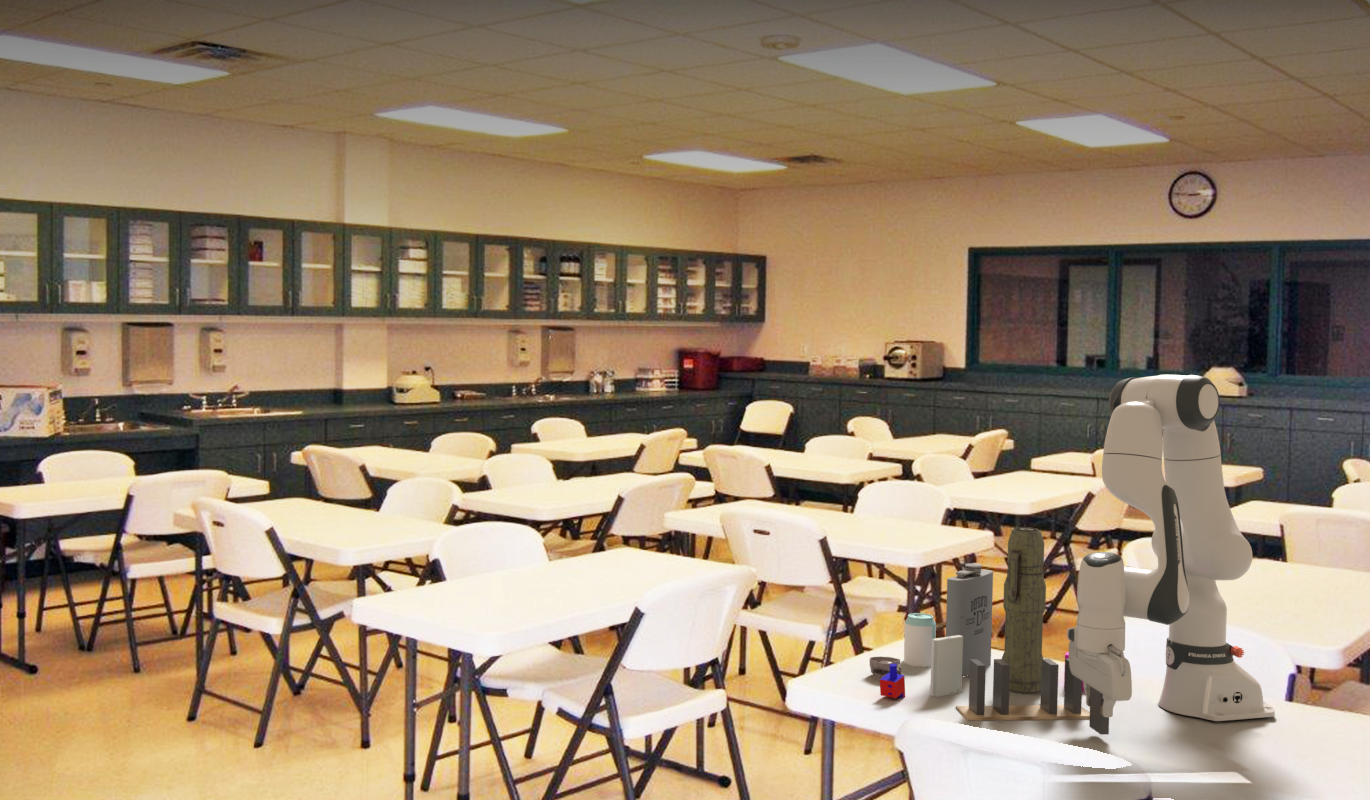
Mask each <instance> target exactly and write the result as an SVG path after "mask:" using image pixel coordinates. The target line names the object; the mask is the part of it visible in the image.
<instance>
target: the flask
mask: <svg viewBox="0 0 1370 800" xmlns="http://www.w3.org/2000/svg"><path fill="white" fill-rule="evenodd" d="M982 567H983V564H980V563H965V568H964V569H962V570H959V571H958V570H957V571H955V575H956V576H951V577H950V576H949V577H947V580H946V581H947V582H946V583H947V584H946V609H945V610H946V613H945V618H946V619H945V637H949V636H955V635H961V636H963V661H962V678H964V677H963V676H966V677H968V676H967V675H970V659H978V660H979V661H980V662H982V663H983V664H984V665H986V669H988V668H989V667H991V663H992V661H991V659H992V658H991V657H992V634H993V633H992V630H993V629H992V626H993V622H992V621H993V592H994V591H993V589H994V571H993V570H990V569H984V568H983V569H982ZM988 666H989V667H988Z"/></svg>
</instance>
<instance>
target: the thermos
mask: <svg viewBox="0 0 1370 800" xmlns="http://www.w3.org/2000/svg"><path fill="white" fill-rule="evenodd" d="M1044 563H1045V541H1044V537H1043V533H1042V531H1041V530H1040V529H1038V528H1035V527H1030V526H1029V527H1028V526H1019V527H1015V528H1013V529H1012V530H1011V532H1010V535H1009V537H1008V541H1007V562H1006V564H1007V567H1008V568H1007V570H1006V577H1005V580H1004V582H1003V605H1002V606H1003V611H1004V613H1005V614H1004V615H1005V616H1004V617H1005V618H1004V619H1005V620H1004V623H1005V624H1004V652H1003V654H1002V656H1001V659H1002V660H1003V661H1005V662H1006V663H1008V664H1009V665H1010V687H1009V693H1013V694H1019V695H1028V696H1029V695H1038V694H1041V662H1042V659H1045V658H1044V656H1043V632H1044V631H1043V625H1044V613H1045V612H1046V604H1047V603H1046V599H1047V597H1046V596H1047V585H1046V580H1045V578H1044V570H1043V569H1044V568H1043V567H1044V565H1045V564H1044Z"/></svg>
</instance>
